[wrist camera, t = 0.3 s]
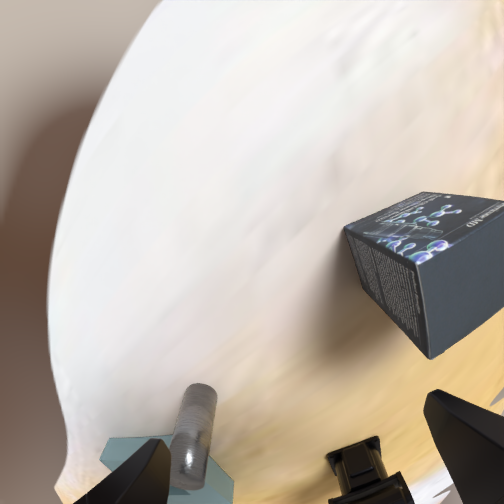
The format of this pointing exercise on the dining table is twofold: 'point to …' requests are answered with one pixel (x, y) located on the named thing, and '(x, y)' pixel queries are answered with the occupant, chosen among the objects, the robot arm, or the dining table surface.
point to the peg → (192, 438)
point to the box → (433, 265)
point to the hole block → (204, 500)
